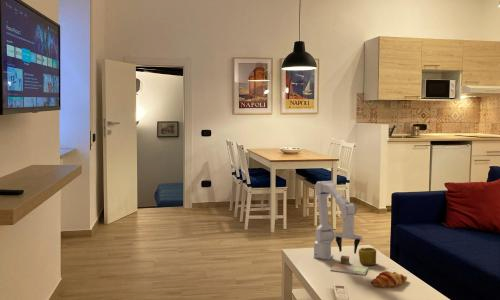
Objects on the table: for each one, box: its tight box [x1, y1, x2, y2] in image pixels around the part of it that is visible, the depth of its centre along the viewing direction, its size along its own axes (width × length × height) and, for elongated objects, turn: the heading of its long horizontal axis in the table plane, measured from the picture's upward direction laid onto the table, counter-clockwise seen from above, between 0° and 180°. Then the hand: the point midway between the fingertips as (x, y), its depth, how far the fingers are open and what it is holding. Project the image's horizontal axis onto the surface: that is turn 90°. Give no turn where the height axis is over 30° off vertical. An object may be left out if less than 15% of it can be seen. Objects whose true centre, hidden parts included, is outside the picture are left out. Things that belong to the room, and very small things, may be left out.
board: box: [330, 262, 369, 276], centre depth 247 cm, size 18×11×1 cm, turn 68°
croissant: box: [370, 270, 408, 288], centre depth 227 cm, size 21×10×8 cm, turn 114°
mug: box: [358, 246, 377, 266], centre depth 257 cm, size 12×10×10 cm
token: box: [339, 255, 350, 265], centre depth 256 cm, size 4×4×4 cm
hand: (347, 252), depth 244 cm, fingers open, 7 cm apart
